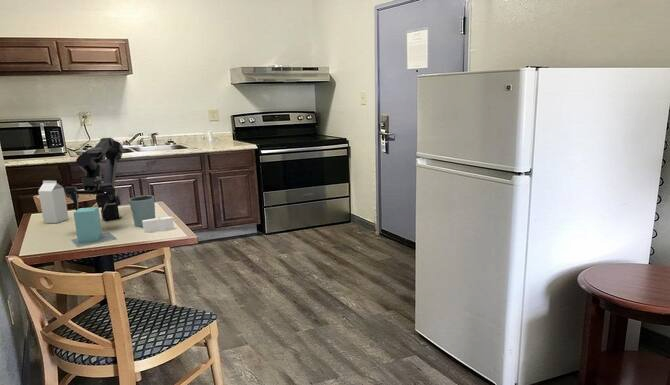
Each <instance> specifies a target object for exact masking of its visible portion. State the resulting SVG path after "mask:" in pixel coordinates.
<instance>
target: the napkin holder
mask: <svg viewBox="0 0 670 385" xmlns="http://www.w3.org/2000/svg"><path fill="white" fill-rule="evenodd" d="M142 223H143V227H142V230H143V232H144V233H153V232H165V231H169V230H174V229H175V227H174V225H175V224H174V218H173V216H167V217H166V216H165V217H157V218H156V217H155V219H148V220H142Z"/></svg>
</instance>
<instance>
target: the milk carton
mask: <svg viewBox="0 0 670 385" xmlns="http://www.w3.org/2000/svg"><path fill="white" fill-rule="evenodd" d="M57 181H58V180H42V185H41V186H40V188H38V191H37V192H38V196H39V197H38V198H39V202H40V209H41V213H42V221H43V223H44V224H58V223H61V222H64V221H65V222H66V221H68V220H70V219H69V213H68V205H67V201H66V195H65V193H64V190H65V188H64V187H63V186H62V185H60V184H59V183H57Z"/></svg>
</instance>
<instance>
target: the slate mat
mask: <svg viewBox="0 0 670 385" xmlns="http://www.w3.org/2000/svg"><path fill="white" fill-rule="evenodd" d="M102 234H103V236H102V237H101V238H100V239H99V240H98V241H93V242H83V243H78V238H77V237H76V238H72V239H70V240H71V242H72V243H73V244H74V245H75V246H76V247H77V248H81V247H86V246H90V245H94V244H101V243H105V242H109V241H115V240H118V238H117V237H116V236H114V235H113V233H111V232H110V231H108V232H102Z"/></svg>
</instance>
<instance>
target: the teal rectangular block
mask: <svg viewBox="0 0 670 385" xmlns="http://www.w3.org/2000/svg"><path fill="white" fill-rule="evenodd" d="M72 214H73V220H74V225H75V231H76V239H77V238H78V243H83V242H93V241H98V240H99V239H100V238H101V237H102V236H103V234H102V233H103V228H102V221H101V216H100V214H101V213H100V207H98V206H93V207H92V206H91V207H82V208H79V207H78V210H76V209H75V211H74V212H72Z"/></svg>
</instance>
